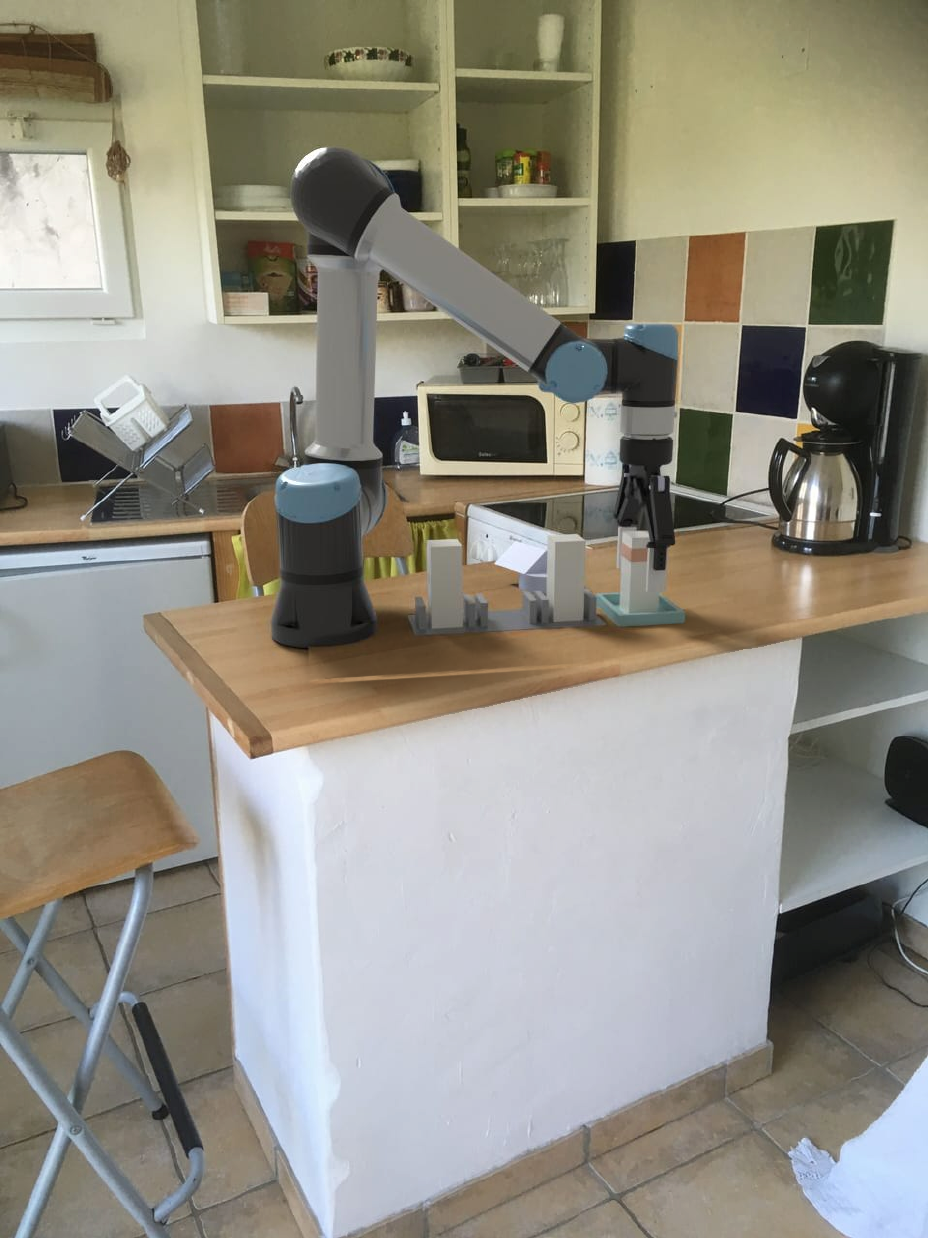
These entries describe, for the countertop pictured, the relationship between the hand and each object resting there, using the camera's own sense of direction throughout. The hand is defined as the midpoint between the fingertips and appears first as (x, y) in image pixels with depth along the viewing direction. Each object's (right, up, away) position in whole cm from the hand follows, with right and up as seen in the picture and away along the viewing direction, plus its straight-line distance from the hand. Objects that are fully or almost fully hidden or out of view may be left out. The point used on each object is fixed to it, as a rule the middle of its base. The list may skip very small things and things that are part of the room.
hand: (640, 579), depth 152 cm
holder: (-20, -7, -2) cm, 21 cm away
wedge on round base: (-14, -1, +18) cm, 23 cm away
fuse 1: (-29, -7, -3) cm, 30 cm away
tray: (0, -5, +2) cm, 6 cm away
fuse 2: (-11, -6, 0) cm, 13 cm away
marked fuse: (0, -5, +1) cm, 5 cm away
